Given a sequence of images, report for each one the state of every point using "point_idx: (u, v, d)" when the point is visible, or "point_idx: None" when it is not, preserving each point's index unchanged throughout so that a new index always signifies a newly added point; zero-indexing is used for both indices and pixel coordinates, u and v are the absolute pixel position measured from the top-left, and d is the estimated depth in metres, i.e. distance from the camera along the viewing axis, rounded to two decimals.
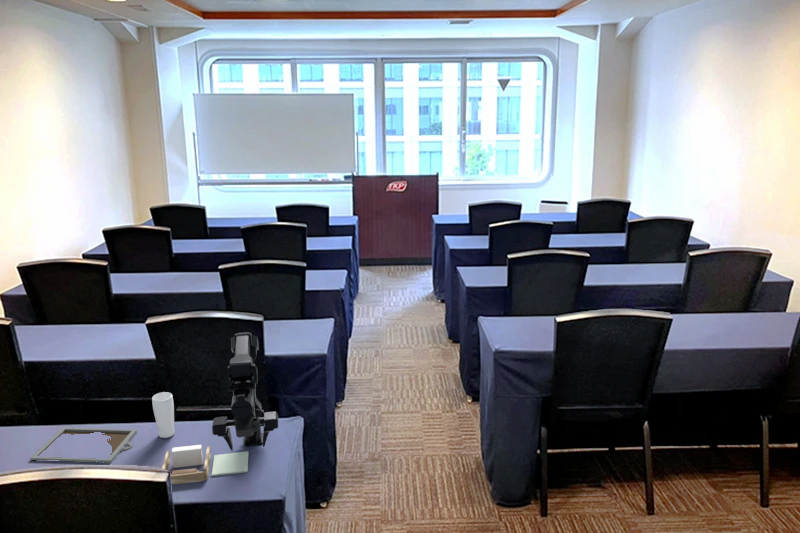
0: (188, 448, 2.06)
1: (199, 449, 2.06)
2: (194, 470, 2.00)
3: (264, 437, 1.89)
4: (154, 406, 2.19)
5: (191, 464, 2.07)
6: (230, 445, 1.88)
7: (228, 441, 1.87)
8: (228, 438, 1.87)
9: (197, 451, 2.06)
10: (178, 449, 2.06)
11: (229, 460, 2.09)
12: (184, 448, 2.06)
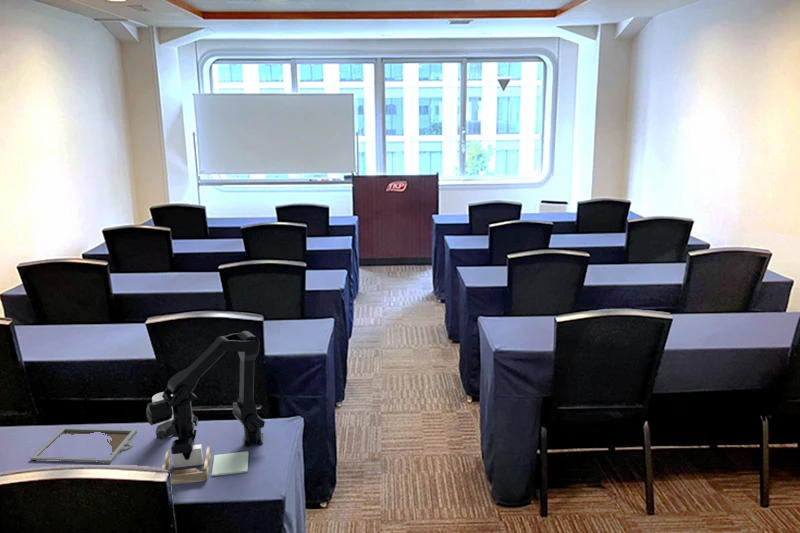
0: None
1: (199, 449, 2.06)
2: (194, 470, 2.00)
3: None
4: None
5: (191, 464, 2.07)
6: None
7: None
8: None
9: (196, 450, 2.06)
10: None
11: (229, 460, 2.09)
12: None
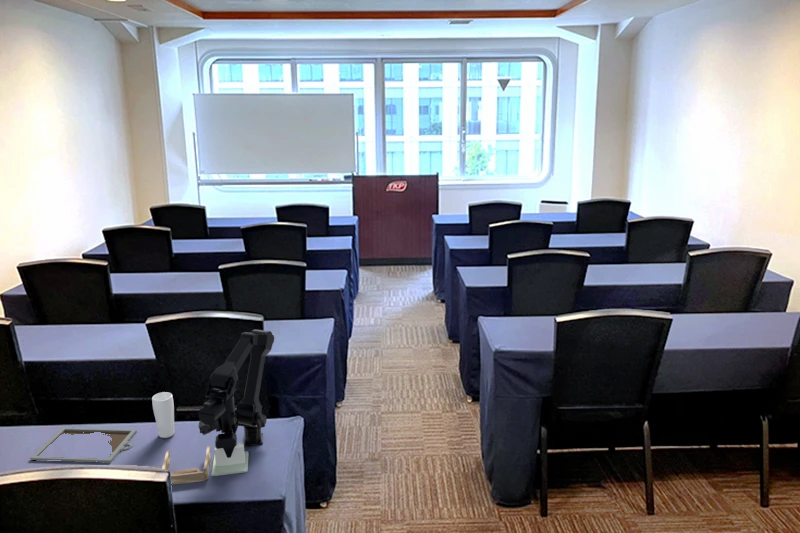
0: None
1: (242, 447, 2.06)
2: (195, 469, 2.00)
3: None
4: (154, 406, 2.19)
5: (233, 462, 2.06)
6: None
7: None
8: None
9: (239, 449, 2.06)
10: None
11: None
12: None
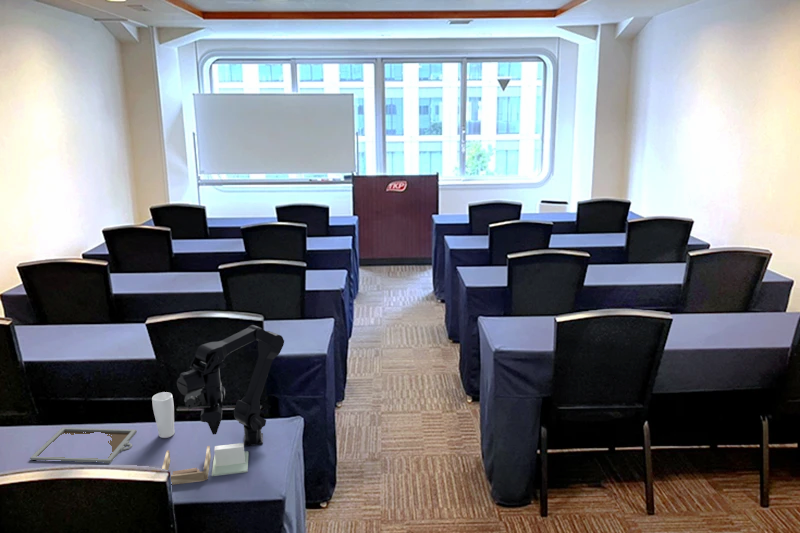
0: (230, 446, 2.06)
1: (242, 447, 2.06)
2: (195, 469, 2.00)
3: None
4: (154, 406, 2.19)
5: (233, 462, 2.06)
6: None
7: None
8: None
9: (239, 449, 2.06)
10: (221, 447, 2.05)
11: None
12: (227, 447, 2.05)
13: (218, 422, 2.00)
